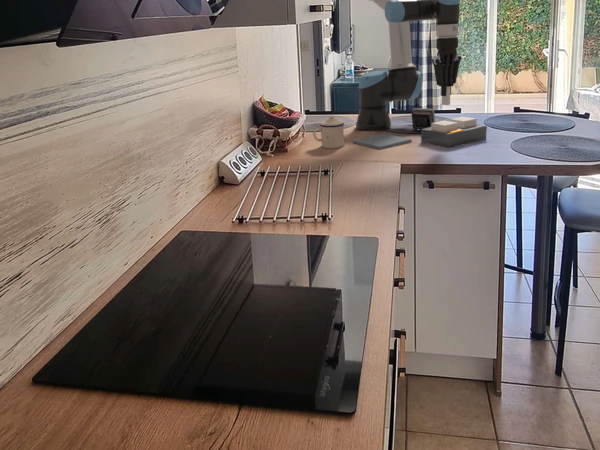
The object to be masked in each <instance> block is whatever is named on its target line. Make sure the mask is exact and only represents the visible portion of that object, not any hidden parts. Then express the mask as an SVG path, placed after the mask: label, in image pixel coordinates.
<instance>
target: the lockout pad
mask: <svg viewBox="0 0 600 450" xmlns="http://www.w3.org/2000/svg"><path fill="white" fill-rule="evenodd" d="M412 142H413V141H412V139H411V138H407V137H402V136H399V135H398V136H397V135H392V134H387V133H381V134H375V135H371V136H367V137H361V138H357V139H353V140H352V143H353V144H358V145H360V146H361V145H362V146H364V147H369V148H374V149H378V150H382V149H387V148H392V147H396V146H399V145H400V146H401V145H404V144H409V143H412Z"/></svg>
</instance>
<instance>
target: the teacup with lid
mask: <svg viewBox="0 0 600 450" xmlns="http://www.w3.org/2000/svg"><path fill="white" fill-rule="evenodd" d="M344 122H345V121H343V120H341V119H339V118H336V117H335V115H329V116H328V118H327V119H325V120H323V121H321V122H320V127H319V128H316V129H314V130H313V134H312V135H313V139H315V140H316V142H321V147H322V148H324V149H339V148H342V147H343V146H345V131H344V126H345V123H344ZM318 131H320V134H321V135H320V136H321V137H320V138H317V136H316V133H317V132H318Z"/></svg>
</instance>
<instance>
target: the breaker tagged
mask: <svg viewBox="0 0 600 450" xmlns="http://www.w3.org/2000/svg"><path fill="white" fill-rule="evenodd" d="M457 129H458V123H457V122H451V121H450V120H439V121H435V123H432V124H431V130H433V131H439V132H444V133H446V132H448V131H452V130H457Z"/></svg>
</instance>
